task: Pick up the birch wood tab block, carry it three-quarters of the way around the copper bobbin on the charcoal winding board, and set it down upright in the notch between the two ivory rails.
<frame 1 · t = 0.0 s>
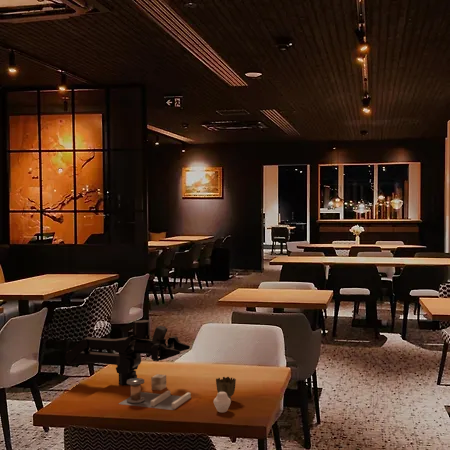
hand: (184, 349, 249), 17 cm above the table, tool horizontal, fingers open, 9 cm apart
cup: (226, 401, 238), on the table
tab block: (159, 391, 251), on the table
muffin: (222, 411, 226), on the table
bobbin: (135, 401, 234), resting on winding board
winding board: (155, 403, 235), on the table
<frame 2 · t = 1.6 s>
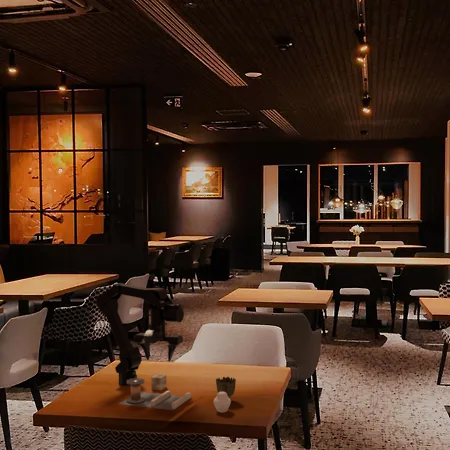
hand: (158, 360, 251), 12 cm above the table, tool pointing down, fingers open, 9 cm apart
nothing on the table moved.
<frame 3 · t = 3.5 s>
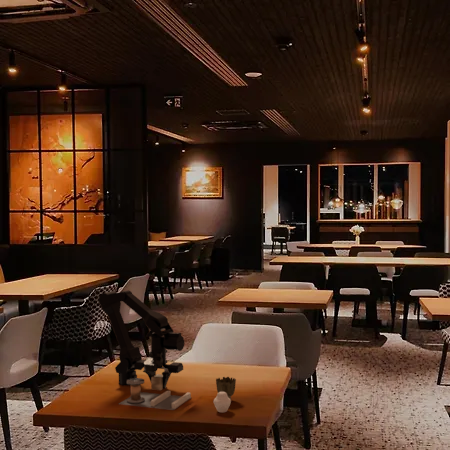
hand: (158, 388, 251), 1 cm above the table, tool pointing down, fingers closed on tab block, 4 cm apart
tab block: (158, 391, 251), on the table, touching gripper
everything else where it was.
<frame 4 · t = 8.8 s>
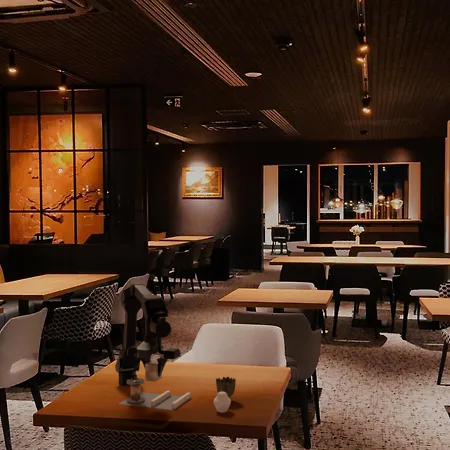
hand: (153, 376, 229), 12 cm above the table, tool pointing down, fingers closed on tab block, 4 cm apart
tab block: (153, 379, 229), point 11 cm above the table, touching gripper
everything else where it was.
when the fingers open (3 cm above the table, at t = 11.4 s): tab block drops 1 cm, resting on winding board.
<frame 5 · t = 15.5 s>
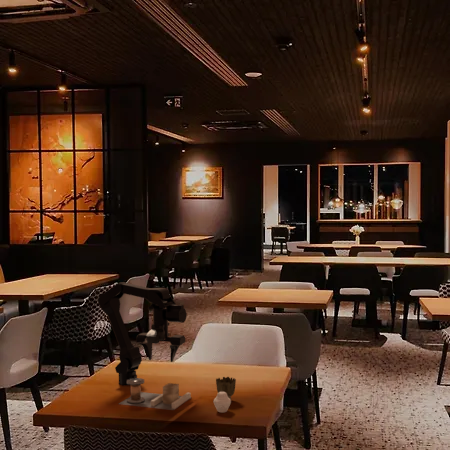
hand: (161, 360, 250), 12 cm above the table, tool pointing down, fingers open, 9 cm apart
tab block: (170, 401, 233), point 1 cm above the table, touching winding board
everything else where it was.
at the end: tab block 0.1 cm from the target spot, point 1.2 cm above the table; tab block tilted 0°; the gripper is holding nothing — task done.
